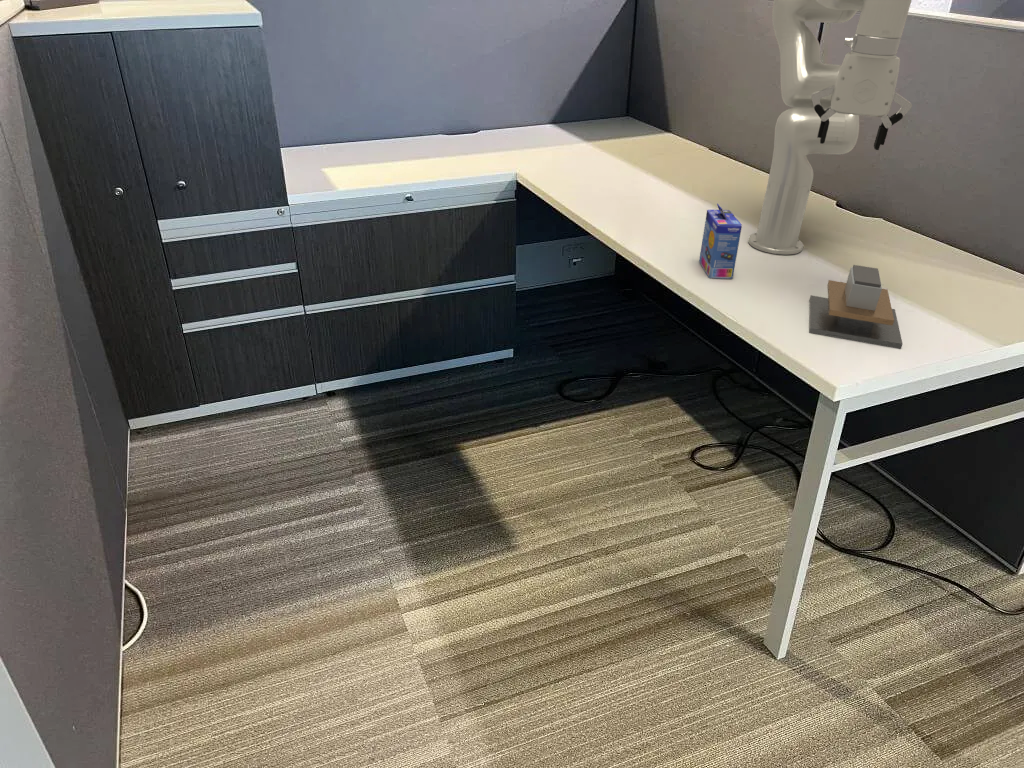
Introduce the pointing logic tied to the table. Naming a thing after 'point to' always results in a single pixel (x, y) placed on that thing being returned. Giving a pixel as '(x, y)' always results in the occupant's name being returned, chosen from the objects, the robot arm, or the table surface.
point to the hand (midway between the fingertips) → (848, 145)
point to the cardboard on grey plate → (854, 318)
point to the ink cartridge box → (720, 243)
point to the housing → (863, 287)
